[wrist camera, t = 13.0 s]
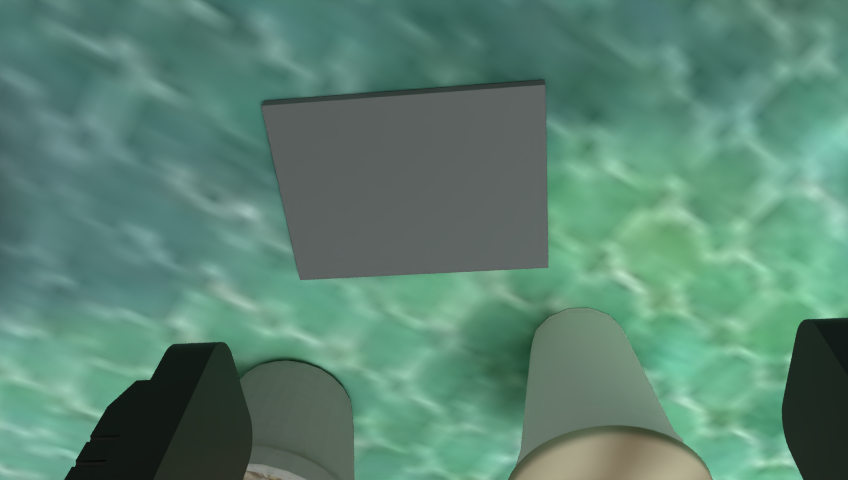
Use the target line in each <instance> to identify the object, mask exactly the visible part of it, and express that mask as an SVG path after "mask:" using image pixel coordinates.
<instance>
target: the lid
mask: <svg viewBox="0 0 848 480" xmlns="http://www.w3.org/2000/svg"><path fill="white" fill-rule="evenodd" d="M508 480H712V477H711V474H710V471H709V469H708V468H707V466H706V464H705V463H704V461H703V460H702V459H701V458H700V457H699V455H698V454H697V453H696V452H694V451H693V450H692V449H691V448H690V447H688V446H687V445H685V444H684V443H682V442H681V441H679V440H677V439H675V438H673V437H671V436H668V435H666V434H663V433H660V432H657V431H654V430H650V429H646V428H641V427H633V426H622V425H607V426H595V427H589V428H583V429H579V430H575V431H571V432H568V433H565V434H562V435H560V436H557V437H554V438H552V439H550V440H548V441H546V442H544V443H543V444H541V445H539V446H538V447H536V448H535V449H533V450H532V451H531V452H530V453H528V454H527V455H526V456H525V457H524V458H523V459H522V460H521V461H520V462H519V463H518V464H517V465H516V467H515V468H514V470H513V471H512V473H511V474H510V477H509V479H508Z"/></svg>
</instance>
